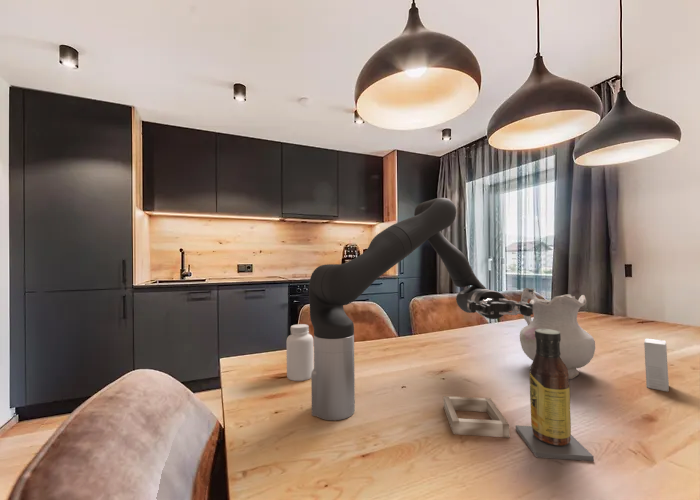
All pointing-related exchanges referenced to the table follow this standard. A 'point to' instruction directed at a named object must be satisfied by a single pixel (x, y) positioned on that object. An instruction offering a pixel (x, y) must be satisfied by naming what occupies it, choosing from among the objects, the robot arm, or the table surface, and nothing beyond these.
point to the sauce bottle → (549, 391)
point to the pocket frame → (475, 426)
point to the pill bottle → (300, 353)
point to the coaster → (554, 447)
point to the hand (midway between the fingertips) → (509, 310)
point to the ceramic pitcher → (558, 329)
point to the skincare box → (656, 364)
